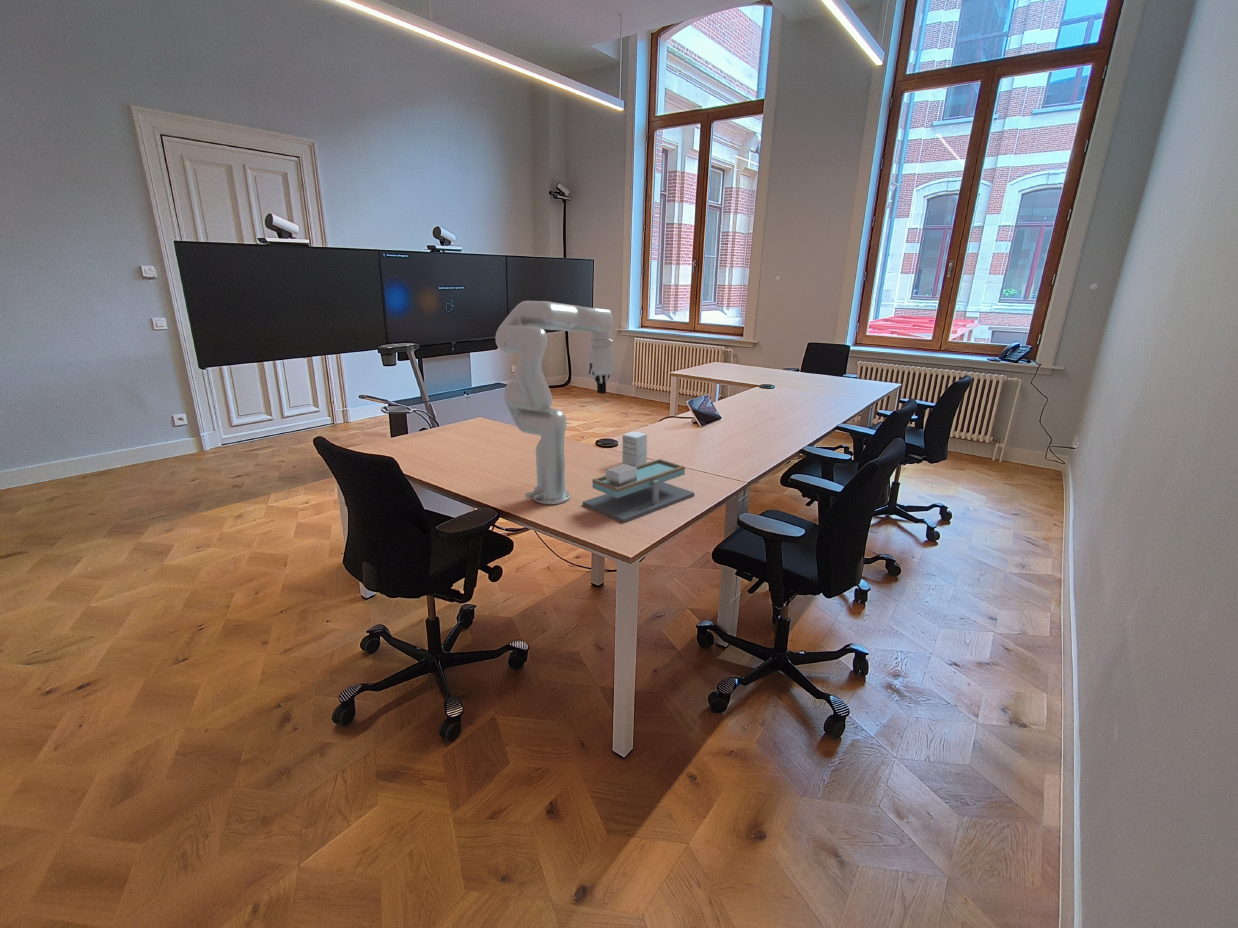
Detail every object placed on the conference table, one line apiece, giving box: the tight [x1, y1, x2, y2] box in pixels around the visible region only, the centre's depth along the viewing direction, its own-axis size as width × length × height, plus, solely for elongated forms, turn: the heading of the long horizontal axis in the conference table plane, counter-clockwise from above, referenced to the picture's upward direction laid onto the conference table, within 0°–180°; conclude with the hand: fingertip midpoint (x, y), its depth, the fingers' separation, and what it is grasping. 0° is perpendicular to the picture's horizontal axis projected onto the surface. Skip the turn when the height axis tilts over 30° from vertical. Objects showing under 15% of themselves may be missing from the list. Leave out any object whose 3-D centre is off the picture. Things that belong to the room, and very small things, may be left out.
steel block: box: [605, 463, 637, 487], centre depth 181 cm, size 8×6×5 cm
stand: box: [582, 480, 695, 524], centre depth 190 cm, size 34×20×9 cm, turn 133°
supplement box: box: [622, 431, 648, 467], centre depth 228 cm, size 7×7×13 cm
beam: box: [592, 458, 686, 498], centre depth 189 cm, size 32×12×3 cm, turn 133°
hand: (601, 393), depth 211 cm, fingers closed
